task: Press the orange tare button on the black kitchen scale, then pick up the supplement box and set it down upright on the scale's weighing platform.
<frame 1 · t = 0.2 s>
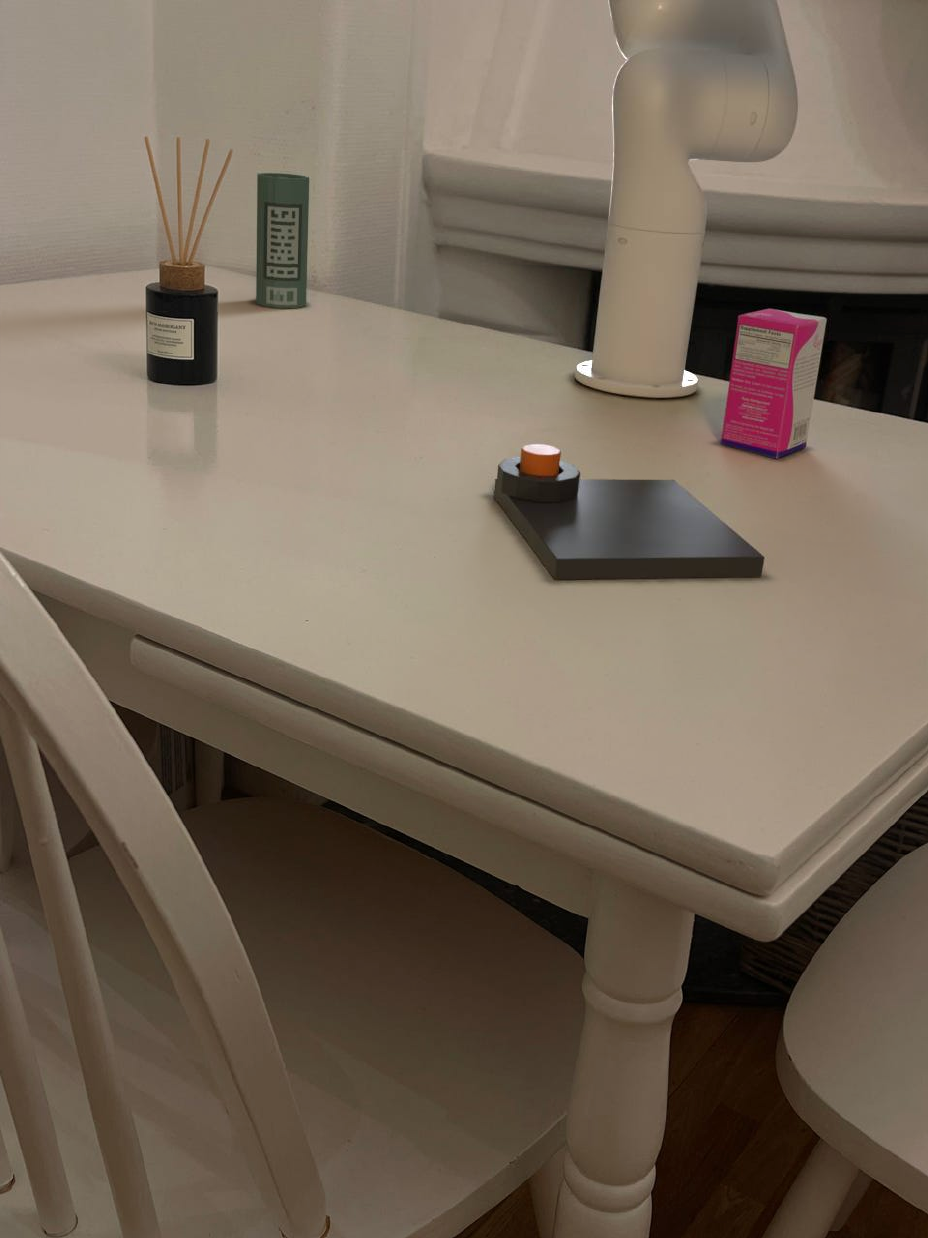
can: (281, 304, 156), on the table
supplement box: (761, 448, 111), on the table
scale: (618, 534, 87), on the table
tare button: (540, 461, 89), point 4 cm above the table, slide at 0.1 cm
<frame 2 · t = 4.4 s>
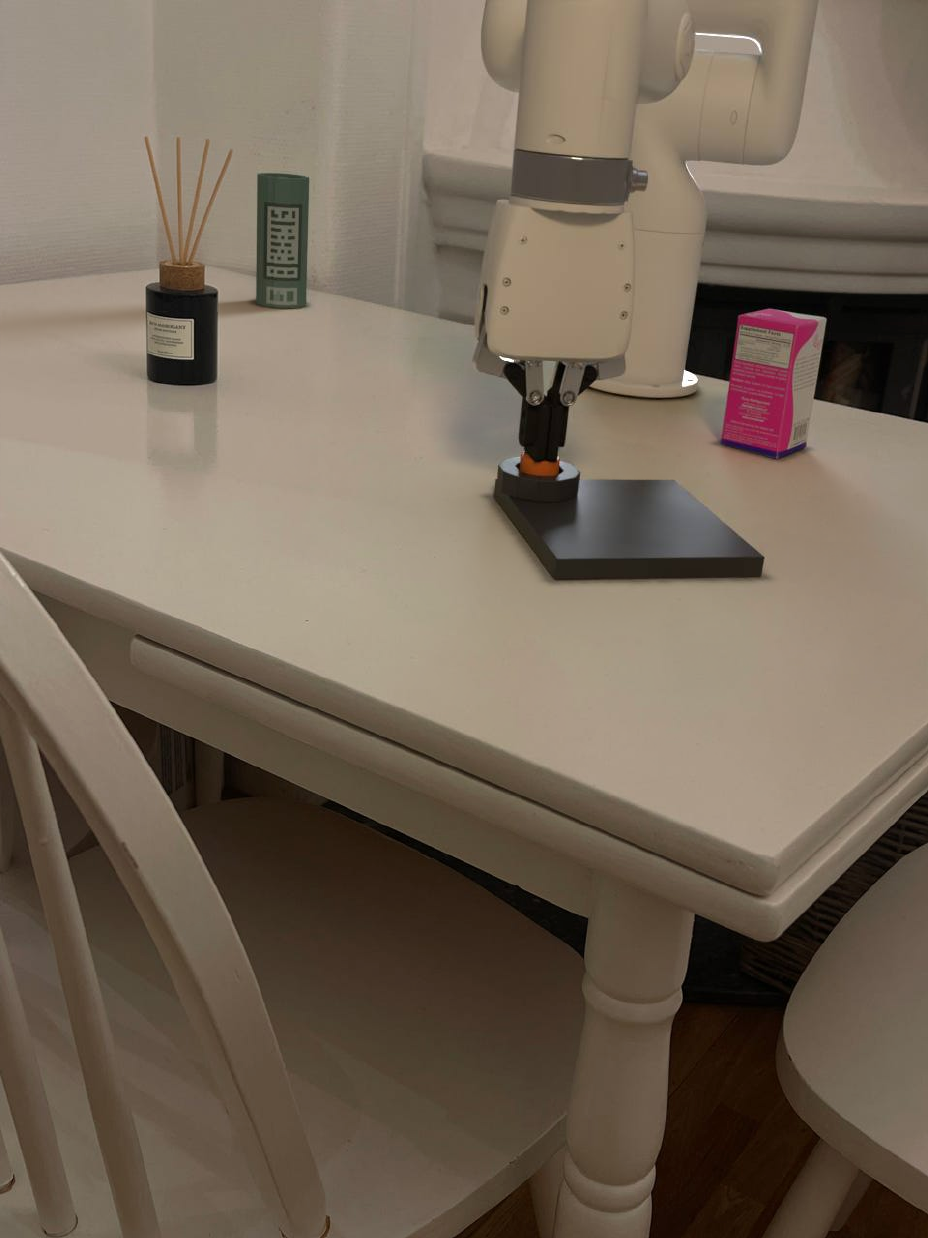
hand: (540, 455, 89), 4 cm above the table, tool pointing down, fingers closed
tare button: (539, 467, 90), point 3 cm above the table, slide at -0.3 cm, touching gripper
everything else where it was.
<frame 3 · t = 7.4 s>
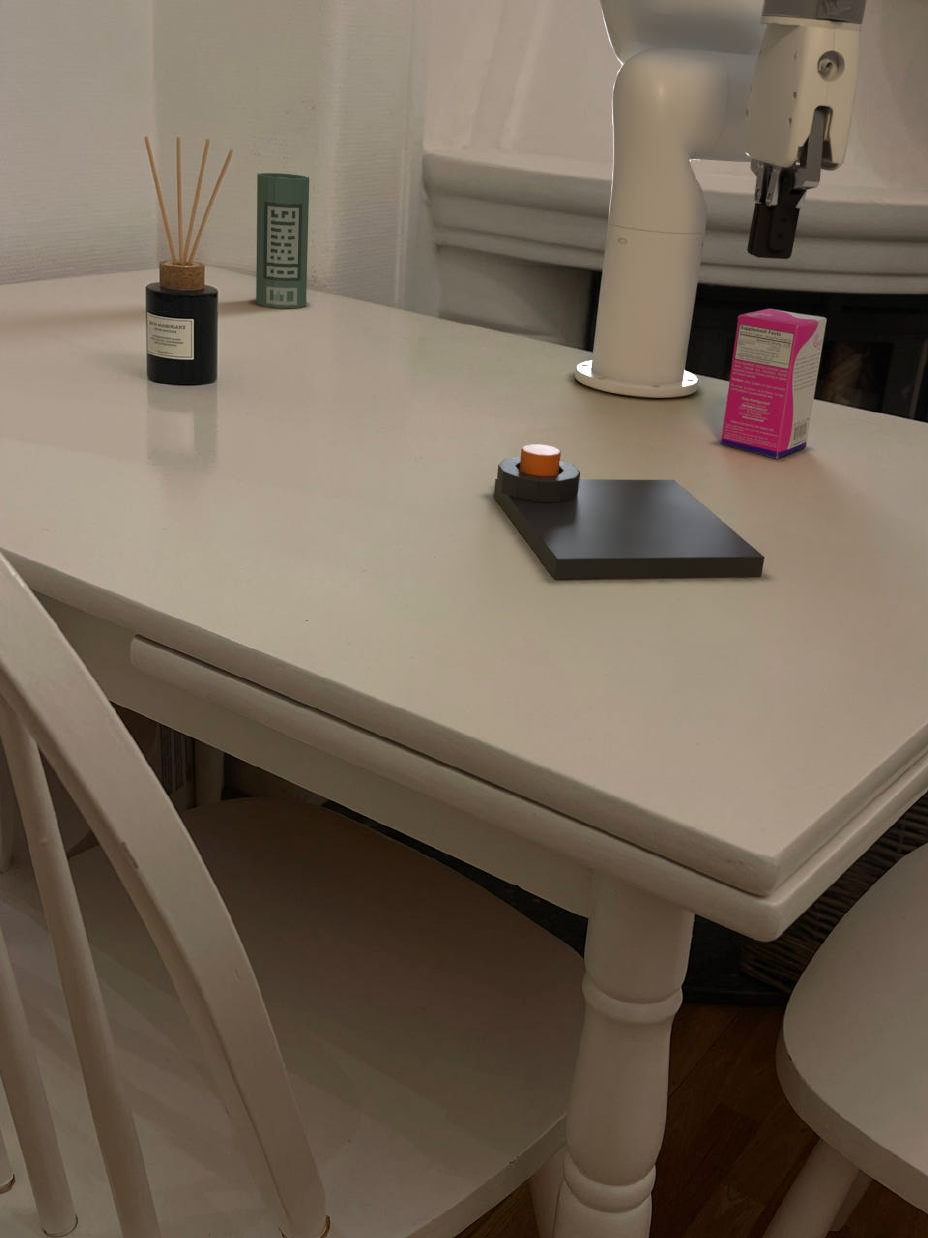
hand: (768, 255, 103), 16 cm above the table, tool pointing down, fingers closed
tare button: (540, 461, 89), point 3 cm above the table, slide at 0.1 cm
everything else where it was.
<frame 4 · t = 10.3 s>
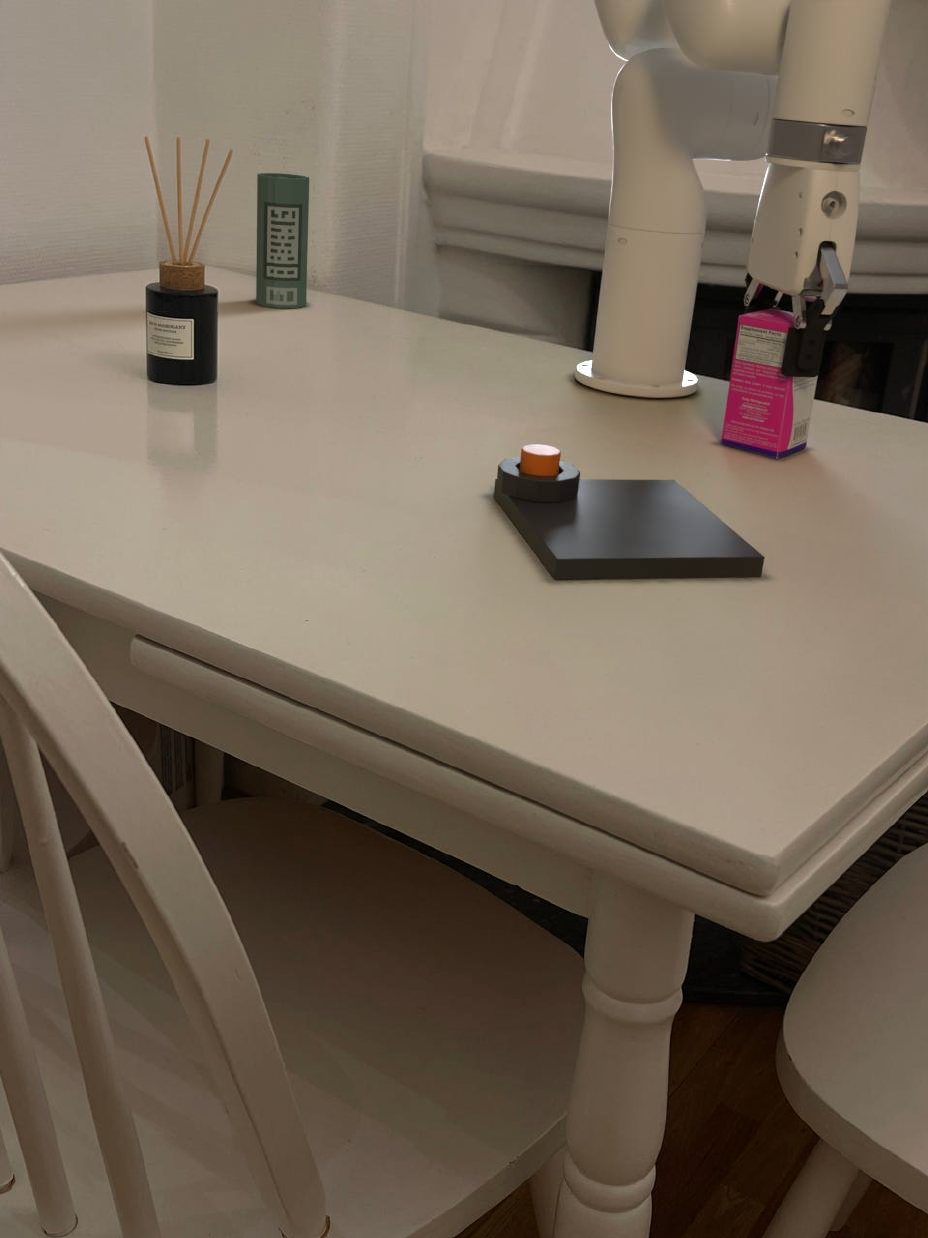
hand: (776, 363, 108), 7 cm above the table, tool pointing down, fingers closed on supplement box, 7 cm apart
supplement box: (761, 448, 111), on the table, touching gripper
everything else where it was.
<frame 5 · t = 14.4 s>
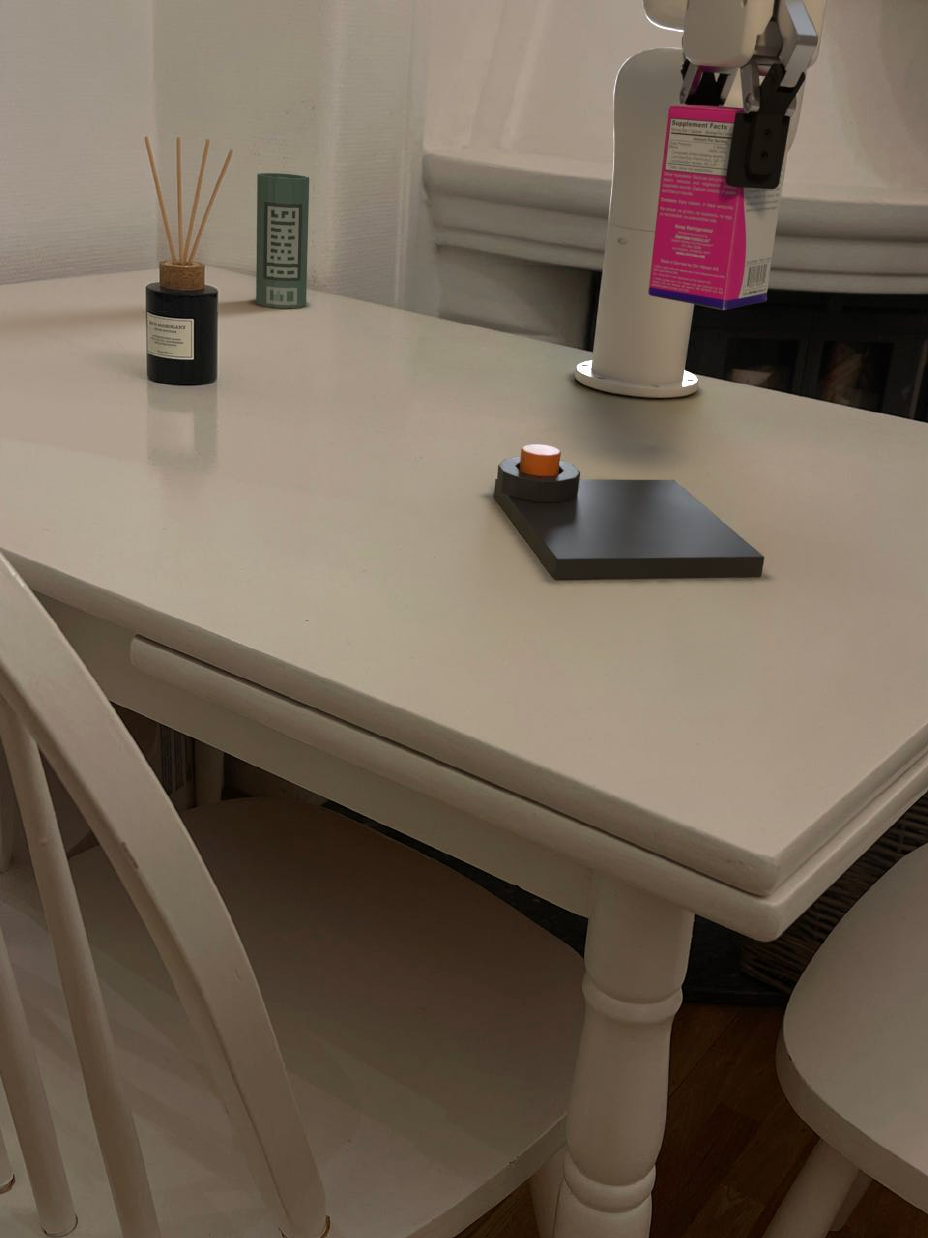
hand: (722, 178, 78), 24 cm above the table, tool pointing down, fingers closed on supplement box, 7 cm apart
supplement box: (704, 302, 81), point 16 cm above the table, touching gripper
everything else where it was.
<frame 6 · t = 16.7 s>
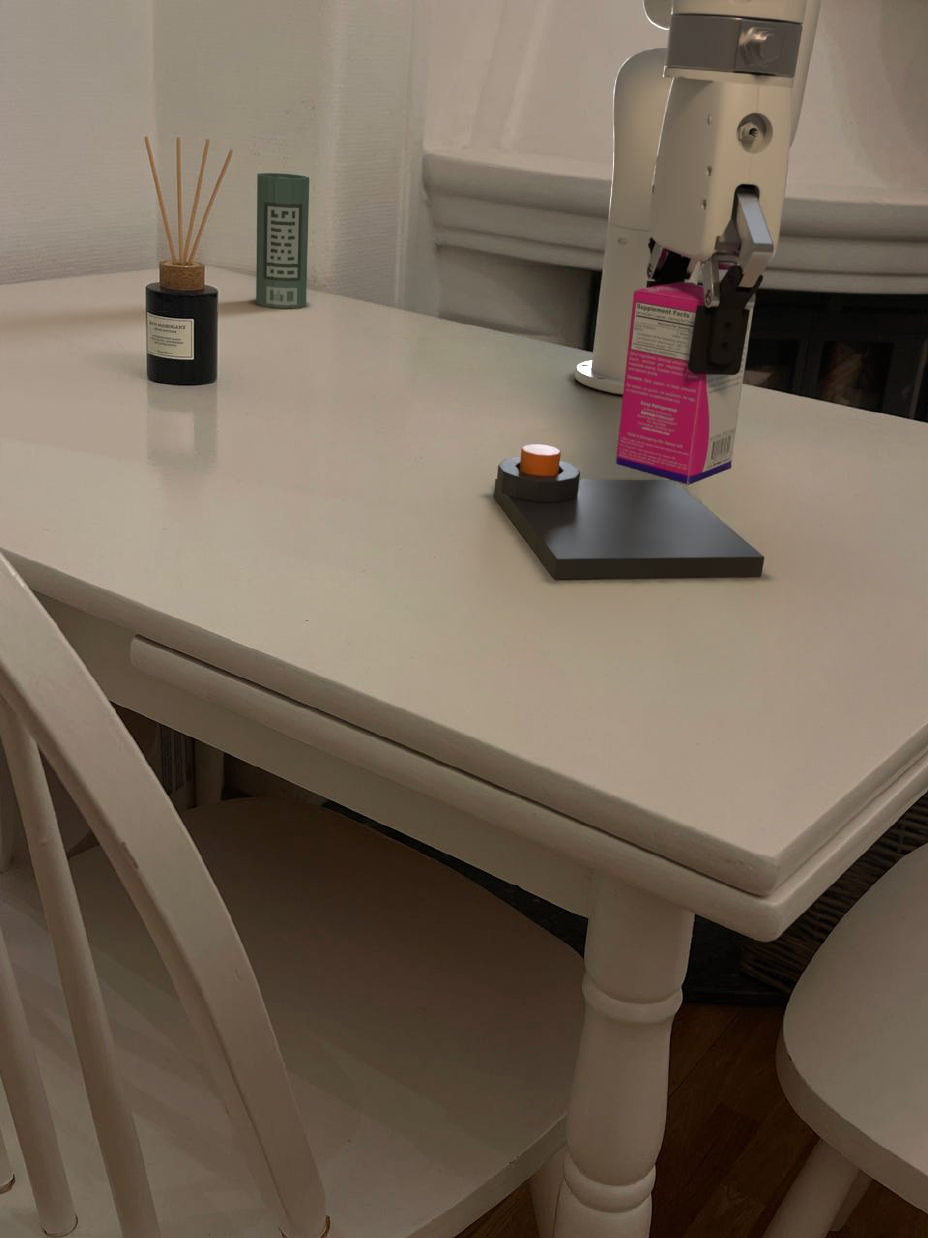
hand: (687, 355, 80), 13 cm above the table, tool pointing down, fingers closed on supplement box, 7 cm apart
supplement box: (671, 469, 83), point 5 cm above the table, touching gripper
everything else where it was.
when the fingers open (9 cm above the table, at t = 18.6 s): supplement box stays where it is, resting on scale.
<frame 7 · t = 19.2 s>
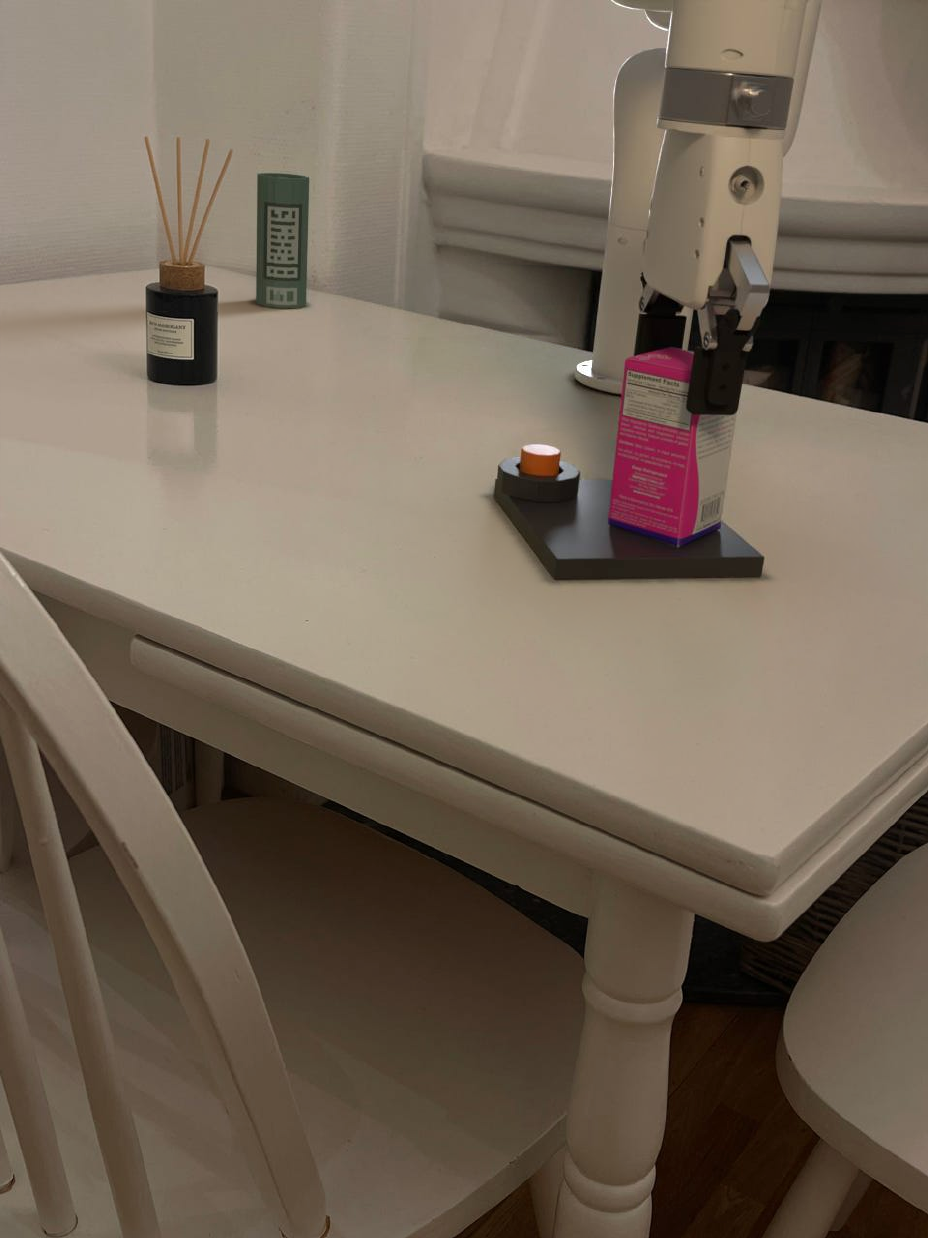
hand: (681, 392, 81), 11 cm above the table, tool pointing down, fingers open, 9 cm apart
supplement box: (662, 530, 85), point 1 cm above the table, touching scale
everything else where it was.
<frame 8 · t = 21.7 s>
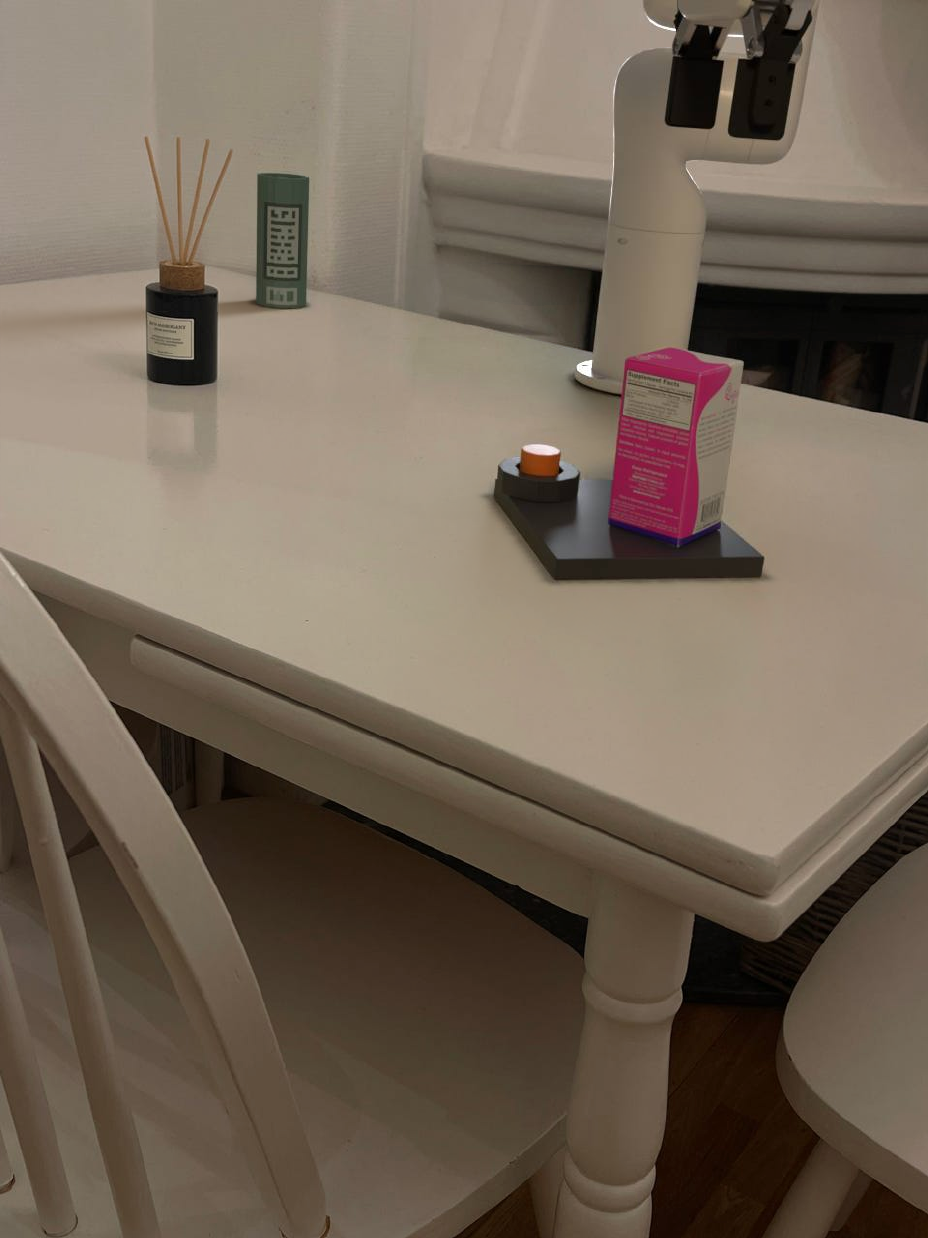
hand: (720, 132, 75), 26 cm above the table, tool pointing down, fingers open, 9 cm apart
nothing on the table moved.
at the end: tare button pushed in 0.9 cm at the most during the clip, back to where it started at the end; supplement box inside the target area on the scale (0.4 cm from its centre), point 1.2 cm above the scale's base; supplement box touching scale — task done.
